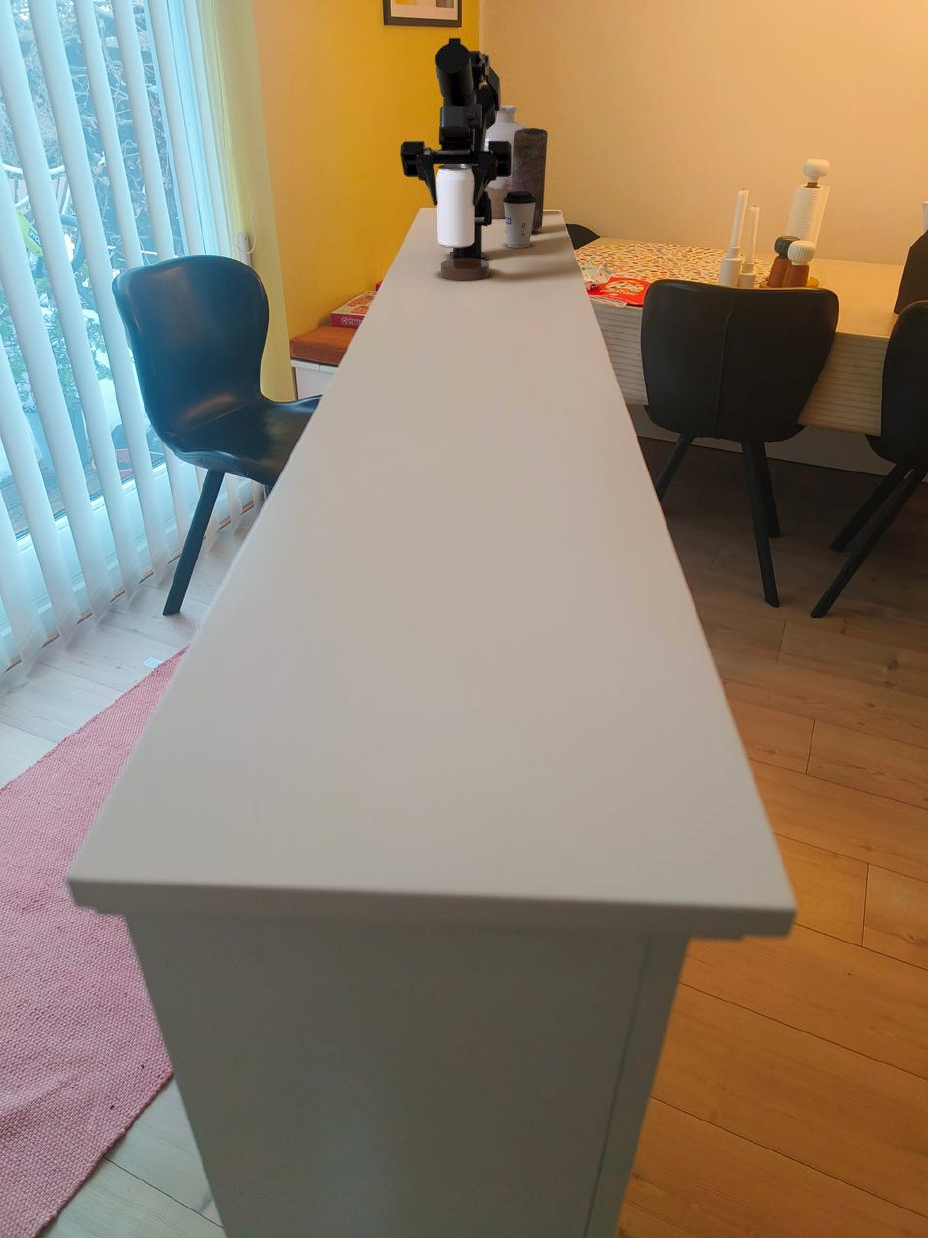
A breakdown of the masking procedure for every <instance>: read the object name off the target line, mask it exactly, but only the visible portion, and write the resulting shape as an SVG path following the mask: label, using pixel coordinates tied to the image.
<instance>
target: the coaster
mask: <svg viewBox="0 0 928 1238" xmlns="http://www.w3.org/2000/svg"><path fill="white" fill-rule="evenodd" d="M440 276H441V277H442V278H443V279H446V280H451V281H461V282H462V281H463V282H464V281H465V282H466V281H467V282H468V281H469V282H470V281H478V280H482V279H486V278H487V277H489V276H490V262H489V261H488V260H486V259H485V260H481V259H475V258H457V259H452V258H449V259H445V260H443V261H441V262H440Z"/></svg>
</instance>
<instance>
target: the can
mask: <svg viewBox="0 0 928 1238" xmlns="http://www.w3.org/2000/svg"><path fill="white" fill-rule="evenodd" d="M437 168H438V171H437V174H436V175H435V181H436V199H437V205H436V230H437V231H436V233H437V243H438V244H439V246H441V247H442V248H450V249H453V248H463V247H468V246H471V245H472V244H473V243H474V204H473V198H474V175H473V173H472V170H471V168H472V166H470V165H465V164H448V165H444V164H440V165H438V167H437Z"/></svg>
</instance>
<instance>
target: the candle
mask: <svg viewBox="0 0 928 1238" xmlns="http://www.w3.org/2000/svg"><path fill="white" fill-rule="evenodd" d="M548 136H549V133H548V131H547V130H546V129H544V128H543V129H542V128H536V127H527V128H523V129H520V130H517V131H516V132H515V133H514V147H513V167H512V190H511V192H513V191H527V192H531V193H532V196H533V197H535V198H536V201H537V202H535V209H534V216H533V223H532V230H531V233H533V232H534V231H537V230H539V229H542V228H543V219H544V205H545V182H546V181H545V180H546V166H547V154H548V153H547V151H548V149H547V148H548Z"/></svg>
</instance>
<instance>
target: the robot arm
mask: <svg viewBox="0 0 928 1238" xmlns="http://www.w3.org/2000/svg"><path fill="white" fill-rule="evenodd" d="M434 63H435V73H436V79H437V82H438V87H439V93H440V95H441V97H442V106H441V107H439V127H438V145H439V146H440V149H432V148H431V147H430V146H426V145H425V140H405V141H403V142H402V143H401V145H400V150H399V151H400V152H399V155H400V160H401V161H400V162H401V166H402V171H403V175H404V176H405V177H407V178H417V179H418V181H420V182H421V181H422V182H424V183H425V185H426V187H427V188H428V191H429V194H430V198H431V200H432V204H433V206H435V207H437V199H436V174H435V172H436V171H435V165H448V164H465V165H470V166H472V168H471V170H472V173H473V175H474V198H473V204H474V243H473V244H472V245H471V246H468V247H463V248H452V251H449V256H450V259H457V258H475V259H481V260H485V261H486V256H485V254H484V253H483V251H482V250H483V248H482V247H483V244H482V242H483V241H482V240H483V239H482V238H483V236H482V235H483V227H488V226H491V225H493V218H492V208H491V199H490V198H489V195H488V191H485V188H486V187H487V185H488V184H489V183H490V181H495V180H496V179H497V177H509V176H510V175H511V168H512V145H511V143H510V142H509V141H488V150H489V151H484V146H485V138H486V131H487V129H489V128H490V127H491V126H492V125H493V124H495V122H496V117H497V111H500V107H501V106H502V92H501V79H500V76H499V75H498V74H497V73H496V72H495V70H494V69H493V68H492V66H491V63H490V55H489V54H486V53H482V52H481V51H480V50H469V49H468V48H467V47H466V45H464V44H462V39H461V37H449V38H448V43H446V44H444V45H442V46H441V47H440V48H439V49H438V51H437V52H436V53H435V55H434ZM485 82H486V83H485Z"/></svg>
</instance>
